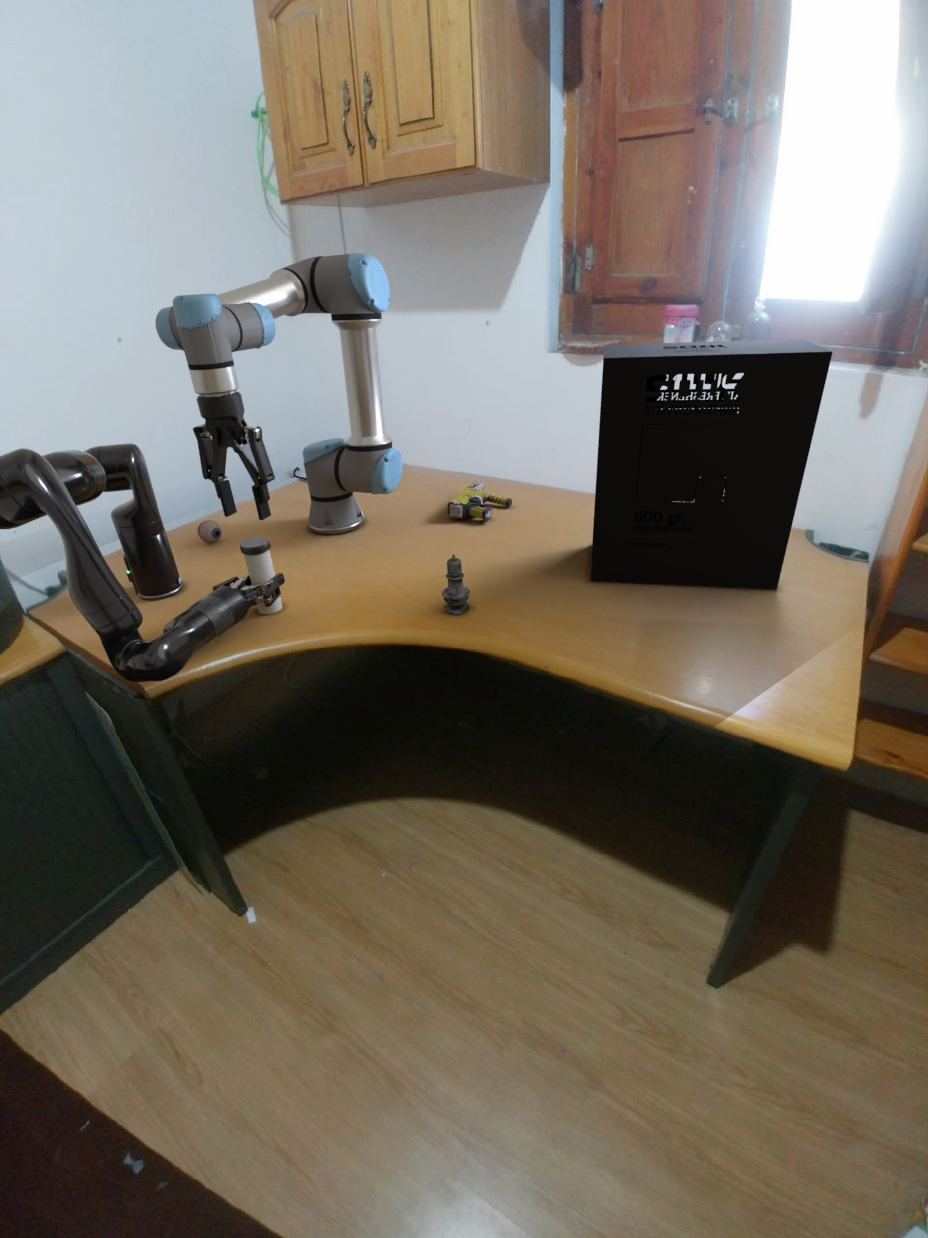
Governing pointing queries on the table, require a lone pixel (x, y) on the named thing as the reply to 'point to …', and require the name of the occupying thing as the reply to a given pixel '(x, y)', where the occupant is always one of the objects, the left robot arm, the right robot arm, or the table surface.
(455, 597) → the dark grey tiered figure
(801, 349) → the cardboard box
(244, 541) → the lid
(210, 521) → the eyeball
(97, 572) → the left robot arm
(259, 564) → the bottle
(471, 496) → the toy gun
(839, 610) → the table surface
